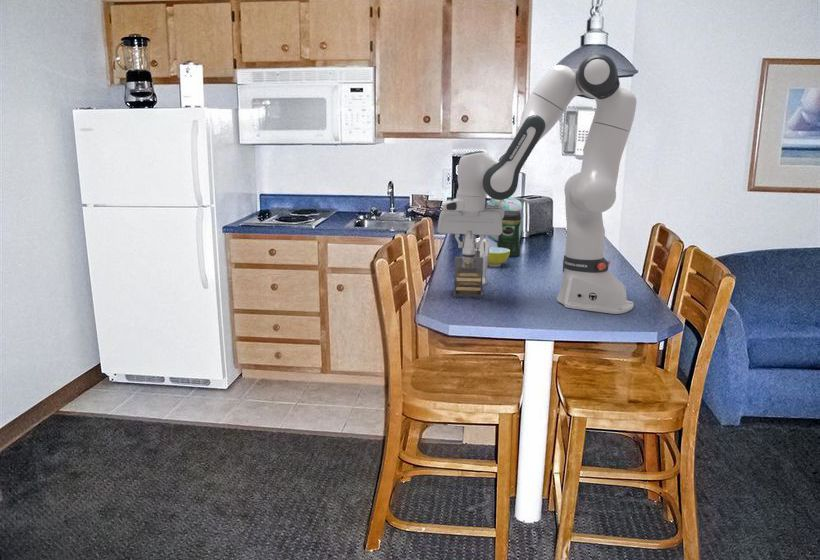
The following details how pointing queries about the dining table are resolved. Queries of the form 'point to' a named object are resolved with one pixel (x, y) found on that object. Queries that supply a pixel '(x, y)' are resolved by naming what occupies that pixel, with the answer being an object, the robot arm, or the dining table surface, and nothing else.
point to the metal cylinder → (468, 250)
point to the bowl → (498, 256)
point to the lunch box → (508, 205)
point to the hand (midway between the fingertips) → (468, 248)
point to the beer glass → (483, 253)
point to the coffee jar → (510, 233)
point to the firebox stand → (468, 279)
